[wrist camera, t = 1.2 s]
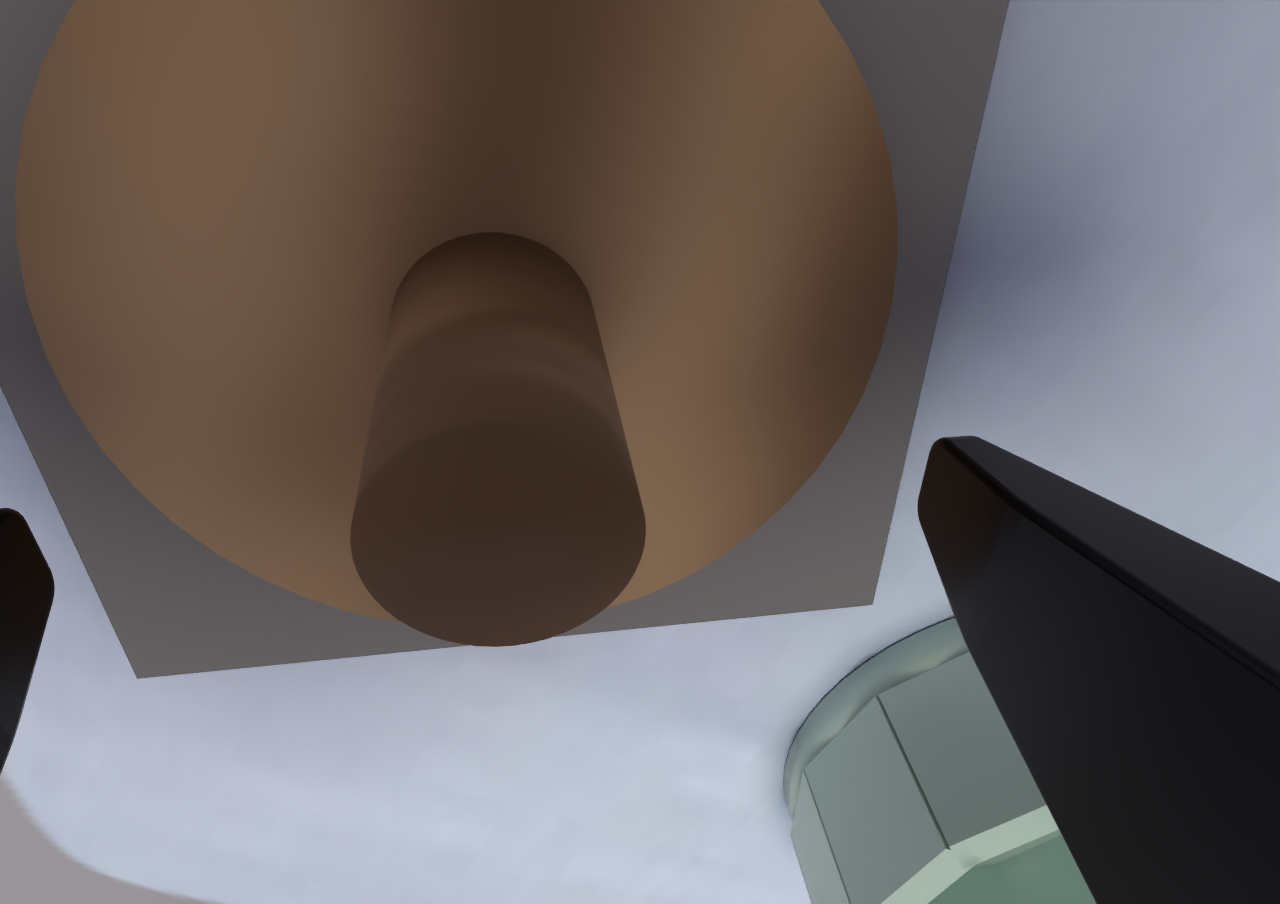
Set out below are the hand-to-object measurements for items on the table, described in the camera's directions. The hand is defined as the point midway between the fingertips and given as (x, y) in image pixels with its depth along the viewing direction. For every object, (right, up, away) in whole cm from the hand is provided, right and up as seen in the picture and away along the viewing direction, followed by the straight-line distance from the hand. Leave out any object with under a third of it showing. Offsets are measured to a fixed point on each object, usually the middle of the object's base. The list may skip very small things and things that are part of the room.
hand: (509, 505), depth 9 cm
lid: (-1, +3, +4) cm, 5 cm away
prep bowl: (+10, -7, +13) cm, 18 cm away
